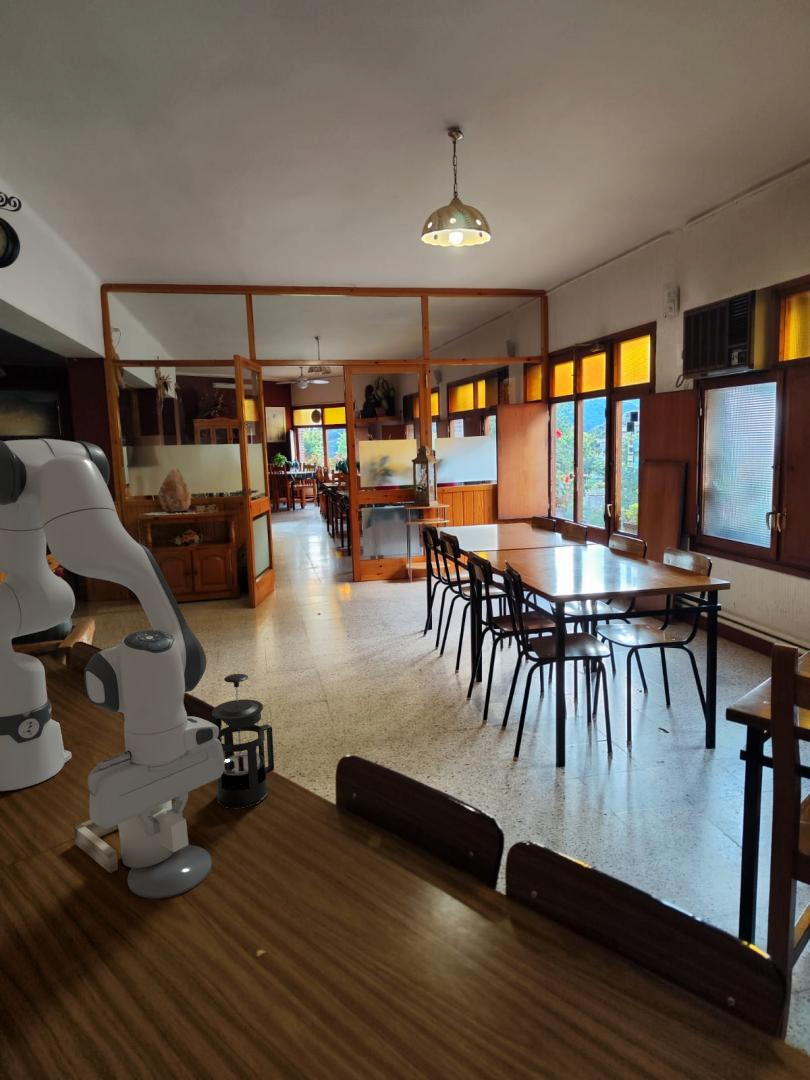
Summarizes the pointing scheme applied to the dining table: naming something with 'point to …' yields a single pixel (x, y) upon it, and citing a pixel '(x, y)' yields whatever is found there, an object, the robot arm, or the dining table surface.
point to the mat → (171, 874)
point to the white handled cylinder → (152, 838)
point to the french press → (247, 764)
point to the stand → (96, 844)
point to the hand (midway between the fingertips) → (164, 827)
